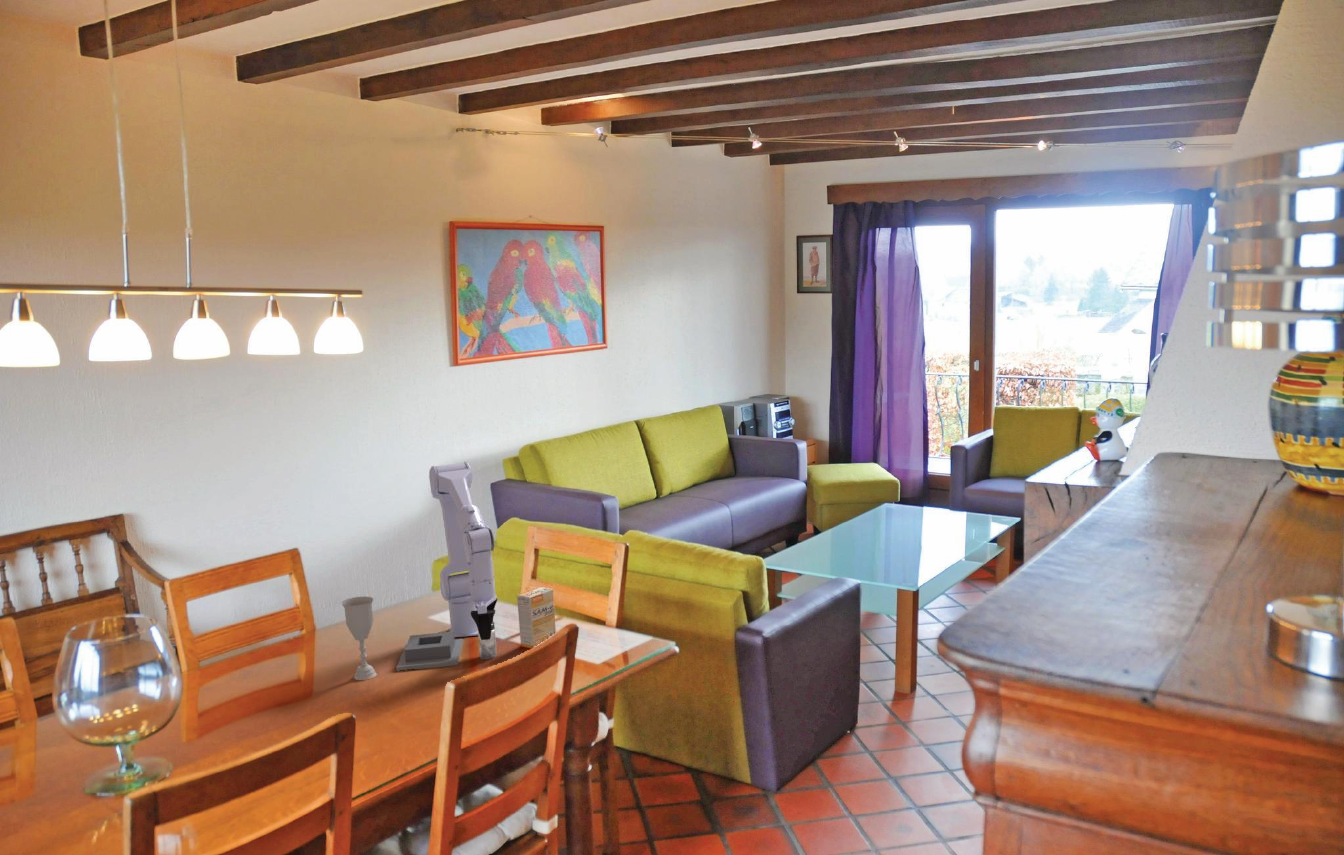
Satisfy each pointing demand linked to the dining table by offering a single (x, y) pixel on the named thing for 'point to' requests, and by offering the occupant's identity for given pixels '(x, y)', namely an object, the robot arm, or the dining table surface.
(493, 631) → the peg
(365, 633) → the chalice
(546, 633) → the supplement box
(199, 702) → the dining table surface
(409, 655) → the socket mount
